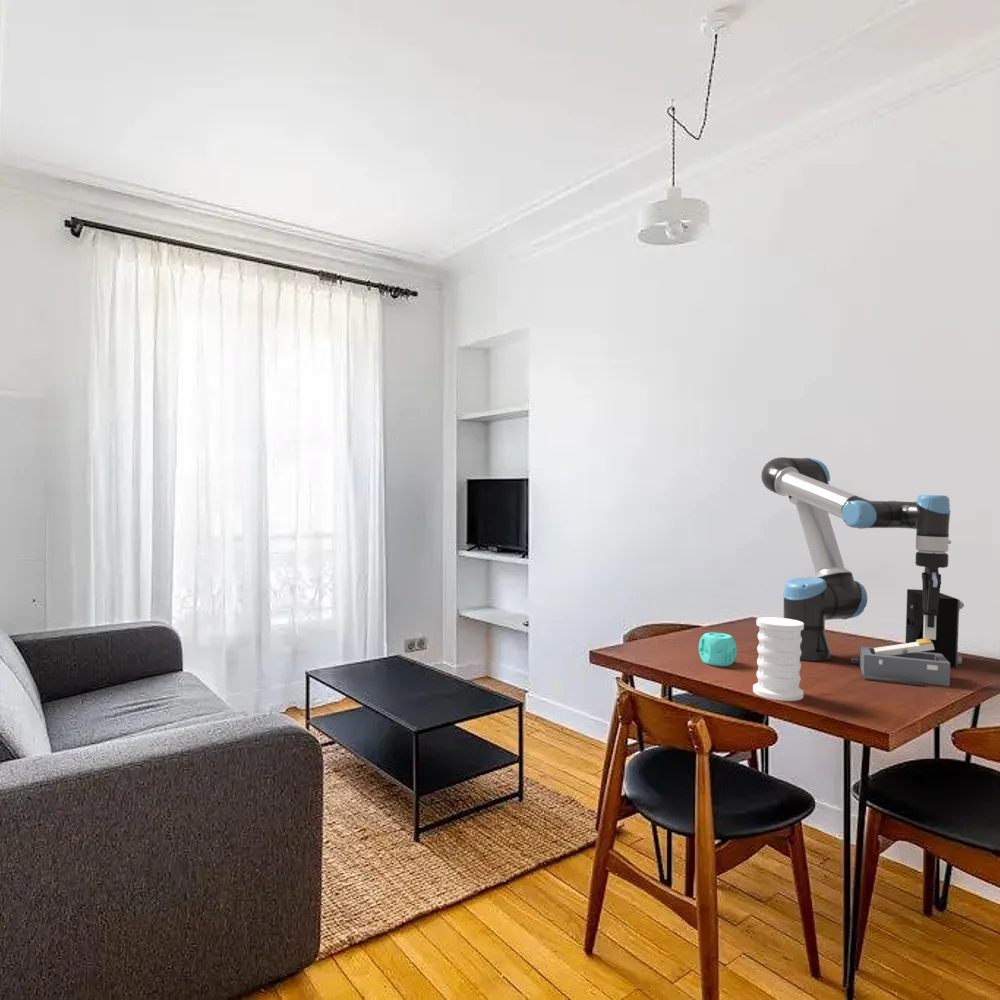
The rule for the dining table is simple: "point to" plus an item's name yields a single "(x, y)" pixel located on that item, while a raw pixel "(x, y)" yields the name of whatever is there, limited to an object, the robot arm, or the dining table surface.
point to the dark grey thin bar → (894, 680)
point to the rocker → (905, 648)
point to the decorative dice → (717, 649)
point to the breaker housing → (906, 666)
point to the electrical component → (944, 624)
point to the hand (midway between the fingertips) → (929, 638)
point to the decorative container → (779, 659)
